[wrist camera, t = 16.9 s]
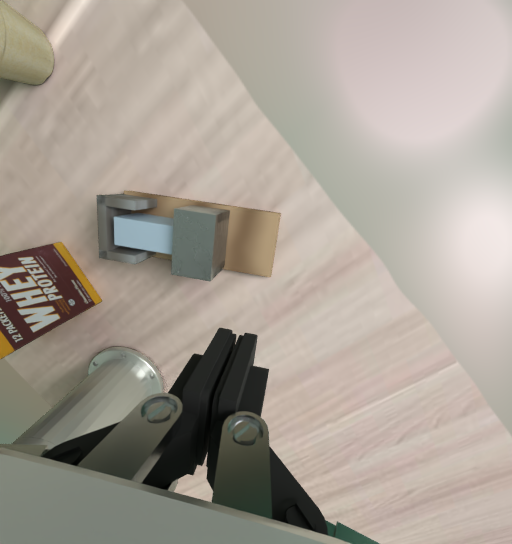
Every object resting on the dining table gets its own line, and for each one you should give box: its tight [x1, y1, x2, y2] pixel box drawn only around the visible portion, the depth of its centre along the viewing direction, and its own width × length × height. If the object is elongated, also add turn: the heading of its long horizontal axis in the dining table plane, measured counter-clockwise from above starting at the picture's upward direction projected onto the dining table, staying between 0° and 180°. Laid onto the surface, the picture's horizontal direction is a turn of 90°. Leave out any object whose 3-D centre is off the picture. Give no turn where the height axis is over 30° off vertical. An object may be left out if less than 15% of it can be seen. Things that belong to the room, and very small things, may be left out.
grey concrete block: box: [171, 205, 230, 281], centre depth 33 cm, size 4×7×6 cm, turn 172°
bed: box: [97, 191, 281, 277], centre depth 34 cm, size 20×8×6 cm, turn 82°
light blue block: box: [114, 213, 174, 255], centre depth 34 cm, size 10×3×5 cm, turn 82°
